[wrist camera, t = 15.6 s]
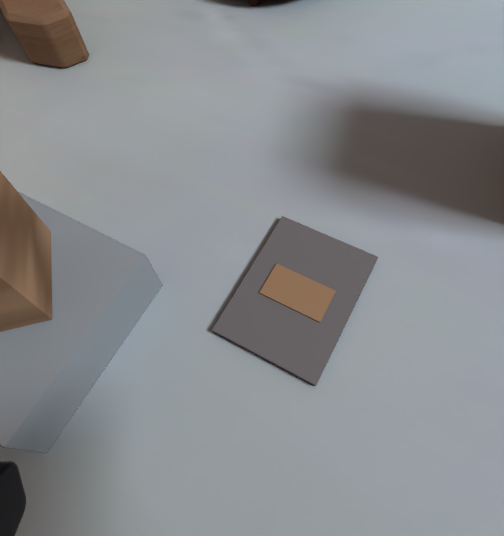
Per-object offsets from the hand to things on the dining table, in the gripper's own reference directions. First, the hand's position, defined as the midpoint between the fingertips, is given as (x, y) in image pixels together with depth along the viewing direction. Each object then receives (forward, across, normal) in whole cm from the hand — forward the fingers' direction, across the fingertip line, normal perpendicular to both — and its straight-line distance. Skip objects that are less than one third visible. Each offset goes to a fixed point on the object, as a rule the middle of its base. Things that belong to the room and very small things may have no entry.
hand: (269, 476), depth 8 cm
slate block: (+16, +13, +4) cm, 21 cm away
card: (+16, -2, +3) cm, 16 cm away
